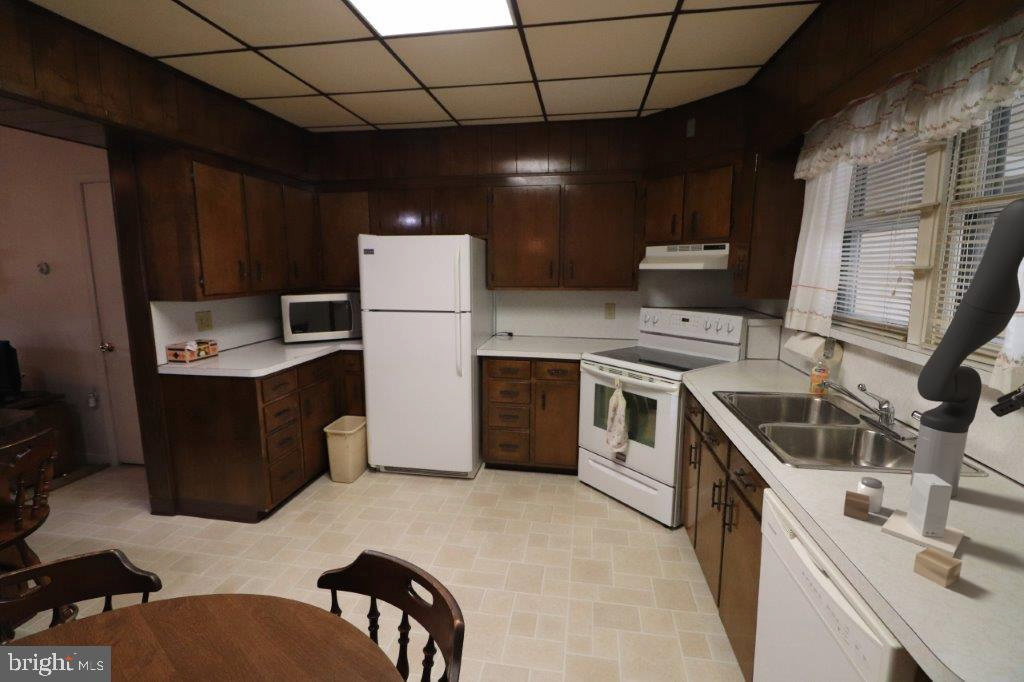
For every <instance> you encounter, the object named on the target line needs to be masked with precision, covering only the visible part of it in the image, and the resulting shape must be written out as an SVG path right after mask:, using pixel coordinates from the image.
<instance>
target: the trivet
mask: <svg viewBox="0 0 1024 682" xmlns="http://www.w3.org/2000/svg"><path fill="white" fill-rule="evenodd" d="M907 513H908V511H907V512H906V511H903V510H901V509H895V510H894V512H893V513H892V514H891V515H890V517H888V519H887V520H886V521H885V522H884V523H883V525H882V526H881V530H880V531H881V532H883V533H885V534H888V535H890V536H893V537H895V538H899V539H901V540H905V541H907V542H909V541H910V543H913V544H916V545H919V546H920V545H921V546H920V547H923V546H924V547H923V548H926V549H928V548H930V547H931V548H933V549H935V550H938V551H940V552H942V553H944V554H946V555H948V556H951V557H953V558H954V556H955V554H956V553H957V550H958V549H959V546H960V544H961V542H962V540H963V538H964V536H965V530H961V529H958V528H956V527H952V526H950V525H947V524H946V527H945V533H944V537H932V536H923V535H921V534H920V533H919V532H918V531H917V530H916V529H914V528H913V527H912V526H911V525H910V524H909V523H908V522H906V519H907Z"/></svg>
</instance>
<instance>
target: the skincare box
mask: <svg viewBox="0 0 1024 682" xmlns="http://www.w3.org/2000/svg"><path fill="white" fill-rule="evenodd" d="M951 493H952V486H951V485H950V484H948V483H947V482H945V481H943V480H942V479H940V478H939V477H937V476H936V475H934V474H924V473H914V476H913V482H912V485H911V489H910V495H909V500H908V507H907V508H908V509H907V519H906V522H908V523H909V524H910V525H911V526H912V527H913V528H914V529H916V530H917V531H918V532H919V533H920V534H921V535H923V536H932V537H944V533H945V527H946V525H947V520H948V517H949V516H948V514H949V508H950V504H951V499H952V497H951Z"/></svg>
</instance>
